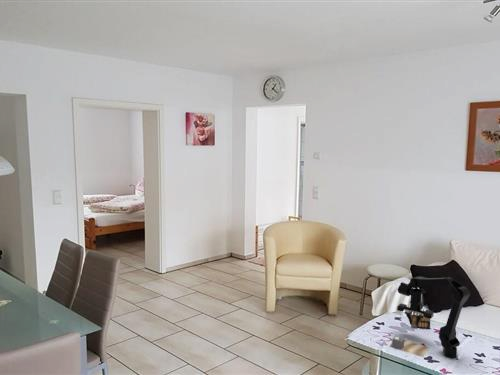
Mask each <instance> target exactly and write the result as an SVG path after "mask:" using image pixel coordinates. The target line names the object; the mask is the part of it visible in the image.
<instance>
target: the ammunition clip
mask: <svg viewBox="0 0 500 375" xmlns="http://www.w3.org/2000/svg"><path fill="white" fill-rule="evenodd" d="M422 311H425V309H424V308H423V309H422ZM412 315H417V316H418V315H419V313H415V312H412ZM418 328H419V329H418ZM416 329H418V330H420V329H421V330H431V319H429V318H425V317H424V318H421V320H420V322H419V324H418V326H417V328H416Z"/></svg>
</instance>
